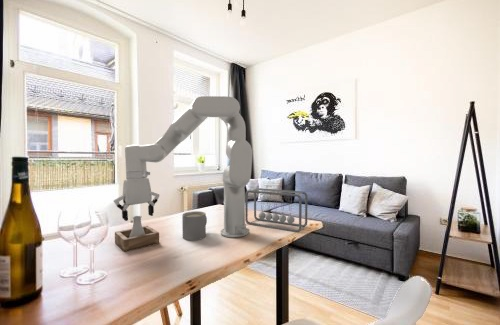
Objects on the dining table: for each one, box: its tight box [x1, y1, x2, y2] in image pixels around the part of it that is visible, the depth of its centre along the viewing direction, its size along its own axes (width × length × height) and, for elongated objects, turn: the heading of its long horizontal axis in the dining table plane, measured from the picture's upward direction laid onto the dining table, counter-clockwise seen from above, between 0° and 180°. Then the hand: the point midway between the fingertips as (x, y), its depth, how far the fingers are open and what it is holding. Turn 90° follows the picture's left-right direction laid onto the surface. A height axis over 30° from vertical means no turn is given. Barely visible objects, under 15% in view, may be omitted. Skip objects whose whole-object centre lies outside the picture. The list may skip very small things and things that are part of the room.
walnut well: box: [114, 225, 160, 253], centre depth 98 cm, size 13×13×4 cm
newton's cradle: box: [245, 187, 308, 233], centre depth 123 cm, size 30×10×18 cm, turn 60°
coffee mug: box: [181, 210, 208, 241], centre depth 108 cm, size 13×10×10 cm
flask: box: [129, 215, 145, 238], centre depth 98 cm, size 7×7×10 cm
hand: (138, 217), depth 98 cm, fingers open, 9 cm apart
